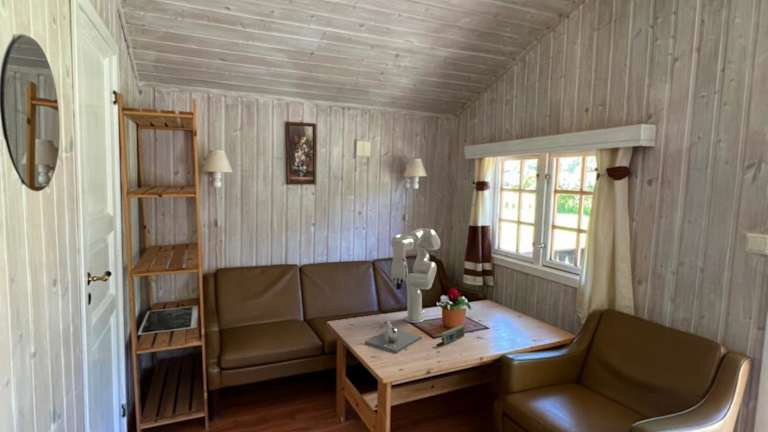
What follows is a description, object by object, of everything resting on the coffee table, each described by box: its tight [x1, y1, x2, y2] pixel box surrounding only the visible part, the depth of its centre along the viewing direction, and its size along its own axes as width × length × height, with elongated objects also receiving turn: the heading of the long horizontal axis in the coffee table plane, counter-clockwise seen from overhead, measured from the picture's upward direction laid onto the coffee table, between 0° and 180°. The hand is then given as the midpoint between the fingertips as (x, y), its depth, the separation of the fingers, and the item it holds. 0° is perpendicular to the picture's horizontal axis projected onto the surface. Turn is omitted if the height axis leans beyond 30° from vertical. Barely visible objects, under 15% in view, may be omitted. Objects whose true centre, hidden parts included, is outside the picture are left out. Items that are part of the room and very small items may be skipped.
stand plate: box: [364, 329, 423, 354], centre depth 250 cm, size 26×22×2 cm
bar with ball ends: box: [384, 319, 398, 343], centre depth 251 cm, size 25×5×8 cm, turn 10°
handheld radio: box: [435, 324, 465, 347], centre depth 251 cm, size 7×3×25 cm
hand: (399, 289), depth 263 cm, fingers closed
